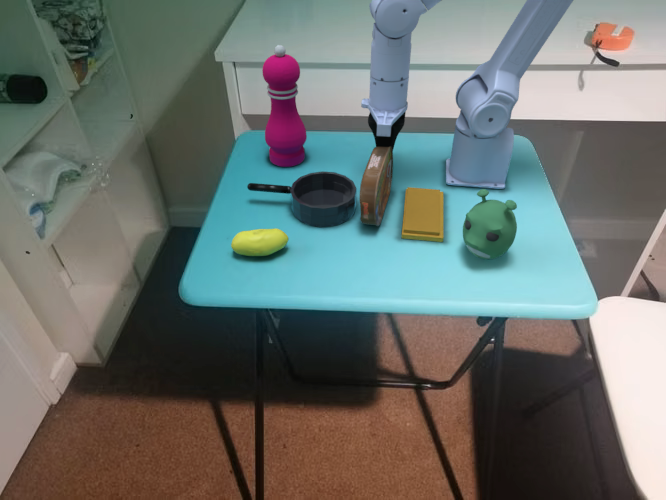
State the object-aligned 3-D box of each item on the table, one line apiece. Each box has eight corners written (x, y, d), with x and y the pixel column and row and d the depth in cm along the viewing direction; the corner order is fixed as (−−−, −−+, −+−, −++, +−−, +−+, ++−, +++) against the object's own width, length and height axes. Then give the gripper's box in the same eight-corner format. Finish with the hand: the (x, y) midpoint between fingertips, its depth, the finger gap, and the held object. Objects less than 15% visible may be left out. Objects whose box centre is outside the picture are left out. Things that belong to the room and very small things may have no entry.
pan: (359, 192, 88) (359, 174, 85) (351, 229, 80) (351, 210, 78) (299, 187, 89) (298, 169, 87) (285, 223, 81) (284, 204, 79)
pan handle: (293, 191, 84) (293, 184, 83) (291, 195, 83) (291, 189, 83) (248, 187, 85) (248, 181, 84) (246, 191, 84) (245, 185, 83)
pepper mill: (315, 154, 97) (311, 42, 84) (292, 172, 92) (285, 57, 80) (282, 144, 100) (274, 34, 87) (258, 161, 95) (246, 48, 82)
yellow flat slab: (442, 195, 87) (443, 188, 86) (442, 242, 78) (444, 234, 77) (405, 192, 88) (406, 185, 87) (401, 238, 78) (402, 230, 78)
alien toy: (445, 256, 75) (455, 197, 69) (476, 231, 80) (488, 174, 73) (489, 280, 72) (503, 220, 65) (519, 253, 76) (535, 194, 69)
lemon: (233, 244, 78) (230, 222, 75) (289, 241, 78) (287, 219, 76) (231, 263, 75) (228, 241, 72) (289, 260, 75) (287, 238, 72)
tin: (376, 237, 79) (379, 189, 73) (355, 234, 79) (356, 186, 74) (393, 182, 90) (397, 137, 84) (375, 180, 90) (377, 135, 85)
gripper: (367, 55, 85) (364, 132, 94) (356, 93, 74) (355, 177, 83) (412, 57, 84) (405, 135, 93) (408, 96, 74) (400, 180, 82)
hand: (384, 155), depth 88 cm, fingers closed
